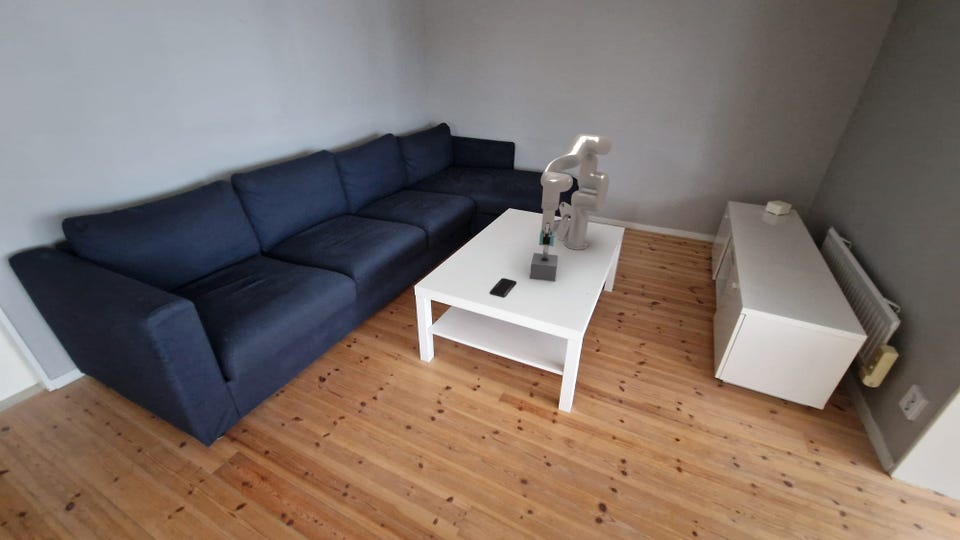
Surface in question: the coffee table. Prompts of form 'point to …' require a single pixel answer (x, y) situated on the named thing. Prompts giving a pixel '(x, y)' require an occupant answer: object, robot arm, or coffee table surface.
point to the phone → (503, 287)
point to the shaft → (545, 253)
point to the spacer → (550, 238)
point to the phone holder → (562, 222)
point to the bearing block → (543, 267)
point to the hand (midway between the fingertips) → (546, 241)
